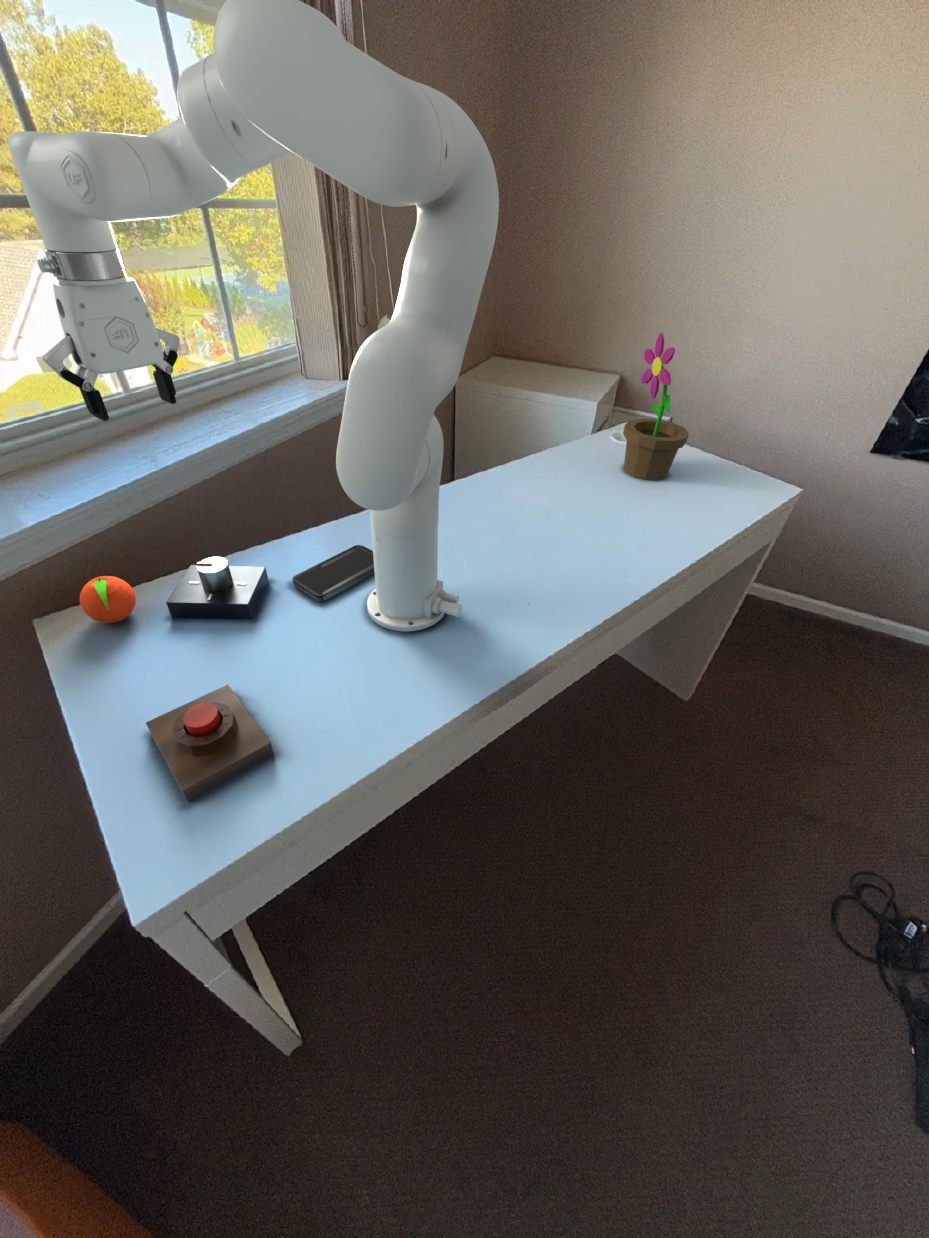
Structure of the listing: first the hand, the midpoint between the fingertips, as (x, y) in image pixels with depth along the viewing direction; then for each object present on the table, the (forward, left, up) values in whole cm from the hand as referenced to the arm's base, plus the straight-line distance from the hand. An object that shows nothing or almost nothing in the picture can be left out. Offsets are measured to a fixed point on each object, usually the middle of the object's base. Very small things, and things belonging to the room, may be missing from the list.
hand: (136, 409), depth 77 cm
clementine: (-1, +16, -26) cm, 31 cm away
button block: (-29, +30, -26) cm, 49 cm away
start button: (-29, +30, -23) cm, 47 cm away
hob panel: (-12, +6, -26) cm, 29 cm away
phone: (-26, -7, -26) cm, 37 cm away
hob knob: (-12, +6, -23) cm, 27 cm away
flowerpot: (-72, -73, -26) cm, 106 cm away
